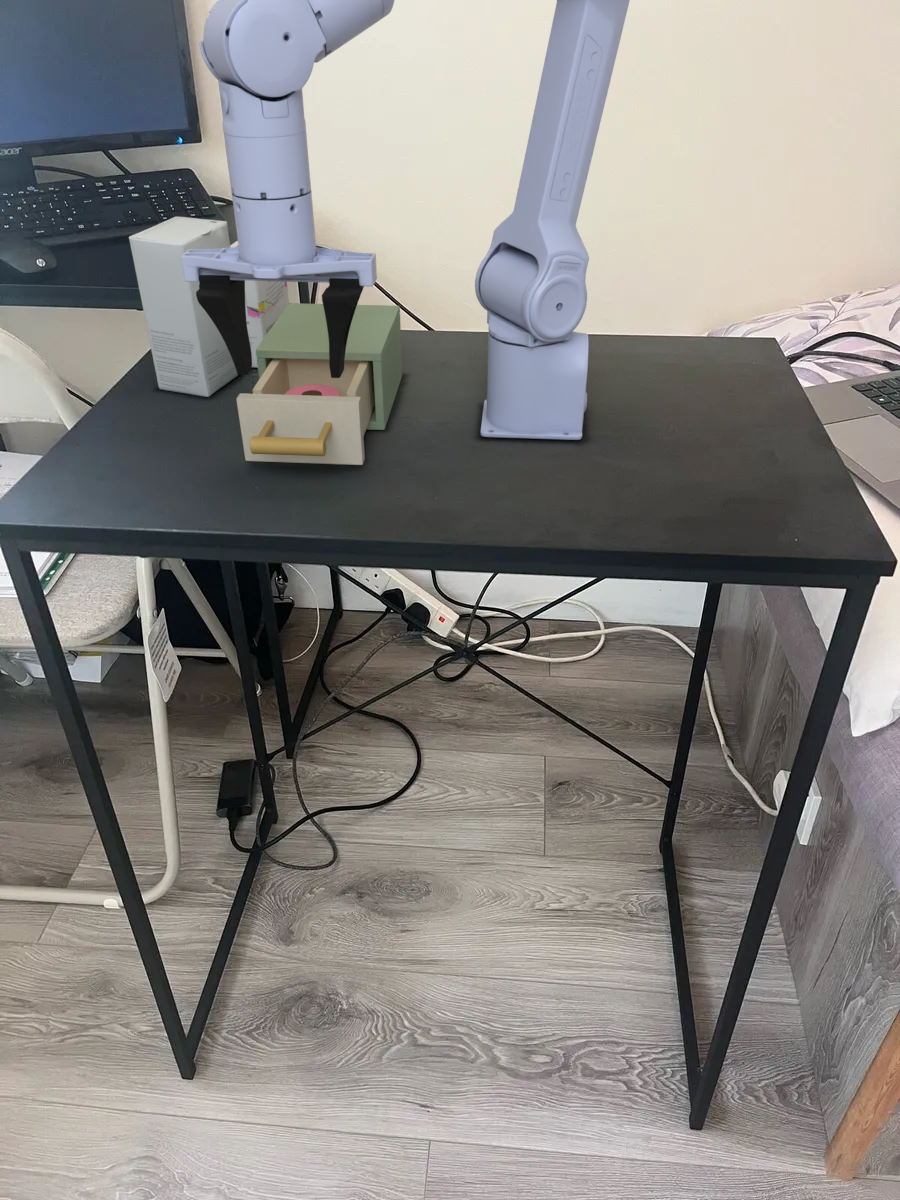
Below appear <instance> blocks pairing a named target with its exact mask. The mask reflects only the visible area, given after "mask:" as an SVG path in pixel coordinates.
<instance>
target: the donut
mask: <svg viewBox="0 0 900 1200" xmlns="http://www.w3.org/2000/svg"><path fill="white" fill-rule="evenodd" d="M285 395H310V396H340V393H339V391H338V390H336V389H335V388H333V387H330V386H325V385H305V386H300V387H296V388H293V389H291V390H289V391H288V392H286V393H285Z"/></svg>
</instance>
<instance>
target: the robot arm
mask: <svg viewBox="0 0 900 1200" xmlns="http://www.w3.org/2000/svg"><path fill="white" fill-rule="evenodd" d="M394 4H395V0H217V1H215V2H214V4H213V5H212V6H211V8H210V10H209V11H208V13H209V15H208V18H206V19H205V20H204V21H205V22H204V27H203V36H202V37H203V39H202V40H201V41H199V49H200V53H201V56H202V59H203V61H204V63H205V65H206V67H207V68H208V70H209V72H210V73H211V74H212V76H213V77H214V78H215V79H216V80H217V83H218V91H219V100H220V106H221V107H220V108H221V113H222V114H221V115H222V133H223V137H224V145H225V152H226V153H225V154H226V161H227V169H228V177H229V184H230V191H231V199H232V205H233V213H234V220H235V221H234V222H235V229H236V237H237V241H238V245H239V247H232V248H217V249H189V250H188V251H187V252H185V253H184V254H183V255H182V256H181V261H182V267H183V273H184V278H185V281H186V282H198V281H199V283H200V284H199V290H198V291H197V292H196V297H197V300H198V302H199V304H200V305H201V306H202V308H203V309H204V310H205V311H206V313H207V314H208V315H209V317H210V318H211V320H212V321H213V323H214V324H215V326H216V327H217V329H218V331H219V332H220V334H221V336H222V338H223V340H224V342H225V344H226V346H227V348H228V350H229V353H230V355H231V357H232V360H233V363H234V365H235V368H236V371H237V374H238V376H247V374H248V372H249V371H250V369H252V368H253V367H252V354H251V347H250V341H249V335H248V330H247V323H246V309H245V281H284V282H287V283H288V282H289V283H290V282H292V283H328V286H327V287H326V288H325V289H324V291H323V293H321V302H322V304H323V307H324V311H325V317H326V323H327V329H328V337H329V365H330V373H331V378H340V377H341V375H342V373H343V371H344V360H345V351H346V344H347V339H348V334H349V330H350V326H351V322H352V319H353V316H354V312H355V309H356V306H357V305H359V300H360V298H361V296H362V293H363V290H364V287H374V286H375V284H376V281H377V279H378V273H377V254H376V253H374V252H372V253H370V252H367V253H366V252H357V251H350V250H349V251H348V250H342V249H341V250H339V249H332V248H325V247H318V246H317V241H316V229H315V217H314V205H313V204H314V203H313V195H312V194H313V193H312V185H311V171H310V159H309V148H308V147H309V146H308V134H307V123H306V118H305V108H304V96H303V88H304V87H305V85H306V84H307V83H308V81H309V79H310V77H311V75H312V72H313V69H314V64H316V63H319V62H321V61H323V59H325V58H327V57H328V56H330V55H331V54H332V53H334V52H335V51H337V50H339V49H340V48H342V47H343V46H344V45H346V44H347V43H349V42H350V41H351V40H353V39H354V38H356V37H358V36H360V35H361V34H362V33H363V32H365V31H366V30H368V29H369V28H371V27H372V26H373V25H375V24H377V23H379V22H380V21H382V20H383V19H384V18H386V17H387V16H388V15H390V13H391V12H392V10H393V8H394ZM629 4H630V0H556V4H555V8H554V14H553V19H552V24H551V28H550V34H549V38H548V42H547V47H546V52H545V57H544V62H543V67H542V71H541V77H540V81H539V86H538V91H537V96H536V101H535V105H534V110H533V115H532V120H531V125H530V130H529V135H528V139H527V145H526V148H525V152H524V153H525V154H524V159H523V164H522V168H521V172H520V178H519V182H518V188H517V192H516V197H515V202H514V207H513V211H512V212H511V214H510V215H508V216H507V217H506V218H505V219H504V220H503V221H502V222H500V224H498V226H497V227H496V228H495V229H494V230H493V234H492V237H491V238H492V239H491V242H490V246H489V249H488V251H487V253H486V254H485V256H484V257H483V259H482V260H481V262H480V264H479V266H478V268H477V271H476V274H475V280H474V292H475V296H476V299H477V300H478V303H479V304H480V306H481V307H482V308H483V309H484V310H485V311H486V324H488V334H487V337H488V338H487V339H488V340H487V378H486V379H487V380H486V381H487V382H486V399H485V400H484V401H483V409H482V415H481V425H480V432H479V433H480V436H481V437H483V438H502V439H505V438H506V439H531V440H532V439H533V440H534V439H535V440H561V441H562V440H563V441H564V440H565V441H579V440H581V439H583V425H584V414H585V412H587V406H588V405H587V404H588V393H587V381H588V369H589V368H588V367H589V349H590V347H589V334H588V333H587V332H579V331H575V330H576V328H577V327H578V326H579V324H580V323H581V321H582V319H583V317H584V314H585V312H586V308H587V305H588V304H587V303H588V291H587V283H586V277H587V269H588V265H589V261H590V256H589V253H588V251H587V248H586V246H585V245H584V242H583V239H582V238H581V235H580V233H579V231H578V228H577V221H578V216H579V214H580V209H581V205H582V200H583V196H584V193H585V188H586V185H587V180H588V175H589V172H590V167H591V163H592V158H593V155H594V151H595V146H596V143H597V137H598V134H599V130H600V125H601V122H602V117H603V113H604V110H605V109H604V108H605V104H606V100H607V96H608V93H609V88H610V84H611V79H612V76H613V71H614V69H615V68H614V67H615V63H616V59H617V55H618V52H619V47H620V42H621V38H622V34H623V30H624V26H625V21H626V17H627V13H628V9H629Z"/></svg>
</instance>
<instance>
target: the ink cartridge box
mask: <svg viewBox="0 0 900 1200" xmlns="http://www.w3.org/2000/svg"><path fill="white" fill-rule="evenodd" d="M232 247H239V245H238V240H236V241H235V242H233V243H232V244H230V248H232ZM289 300H290V298H289V289H288V282H284V281H245V309H246V323H247V330H248V335H249V341H250V347H251V354H252V367H251V368H257V369H258V365H257V357H256V349H257V347H258V346H259V345H260V343H261V342H262V340H263V339H264V338H265V336H266V335H267V333H268V332H269V331H270V329H271V328H272V326H273V325H274V324H275V322H276V321H277V319H278V318H279V317H280V315H281V314H282V312H283V311H284V310H285V308H286V307H287V306H288V304H289V303H290V301H289Z"/></svg>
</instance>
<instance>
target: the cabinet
mask: <svg viewBox="0 0 900 1200" xmlns="http://www.w3.org/2000/svg"><path fill="white" fill-rule="evenodd" d="M401 330H402V327H401V306H400V305H385V304H384V305H383V304H381V305H379V304H357V306H356V309H355V312H354V316H353V319H352V322H351V326H350V330H349V334H348V339H347V344H346V351H345V360H356V361H373V375H374V393H375V407H374V409H373V412H372V415H371V418H370V420H369V423H368V426H367V428H366V430H373V431H377V430H378V431H384V430H386V426H387V423H388V420H389V417H390V414H391V411H392V408H393V405H394V401H395V399H396V397H397V393H398V390H399V387H400V384H401V380H402V378H403V359H402V358H403V357H402V356H403V355H402V332H401ZM256 357H257V365H258V368H257V372H258V380H259V379H260V378H261V376H262V375H263V373H264V372H265V370H266V368H267V367H268V365H269V364H270V362H271V361H272V359H273V358H283V359H319V360H329V337H328V329H327V323H326V317H325V311H324V307H323V303H299V302H297V303H296V302H295V303H294V302H289V304H288V306H287V307H286V308H285V310H284V311H283V312H282V314H281V315H280V317H279V318H278V319H277V321H276V322H275V324H274V325H273V326H272V328H271V329H270V331H269V332H268V333H267V335H266V336H265V338H264V339H263V340H262V342H261V343H260V345H259V346H258V347H257V349H256Z"/></svg>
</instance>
